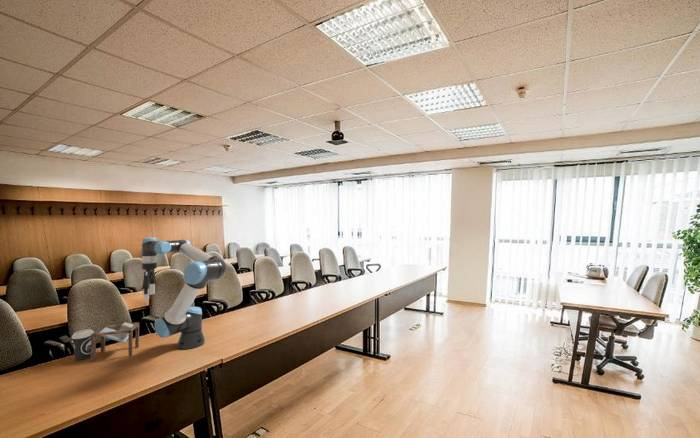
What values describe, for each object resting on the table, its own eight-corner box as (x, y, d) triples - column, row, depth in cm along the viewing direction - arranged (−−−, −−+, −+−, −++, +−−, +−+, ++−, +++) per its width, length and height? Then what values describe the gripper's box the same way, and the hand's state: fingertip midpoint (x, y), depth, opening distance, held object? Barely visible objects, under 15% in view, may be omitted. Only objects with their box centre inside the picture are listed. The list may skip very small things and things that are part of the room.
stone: (127, 336, 175) (133, 324, 177) (124, 339, 171) (131, 327, 172) (118, 333, 174) (124, 322, 175) (115, 336, 169) (122, 324, 170)
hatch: (130, 336, 178) (131, 335, 178) (123, 343, 168) (124, 341, 168) (104, 328, 174) (105, 326, 174) (96, 334, 164) (97, 333, 164)
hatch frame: (138, 346, 181) (139, 322, 181) (131, 356, 168) (131, 330, 168) (101, 351, 174) (102, 326, 175) (91, 362, 161) (91, 334, 162)
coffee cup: (91, 353, 172) (91, 327, 172) (96, 357, 167) (96, 331, 167) (69, 359, 165) (69, 332, 165) (73, 364, 159) (73, 336, 159)
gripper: (147, 260, 192) (147, 292, 192) (136, 265, 169) (135, 302, 169) (161, 259, 195) (160, 291, 195) (151, 264, 172) (151, 301, 172)
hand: (149, 296), depth 182 cm, fingers open, 13 cm apart
